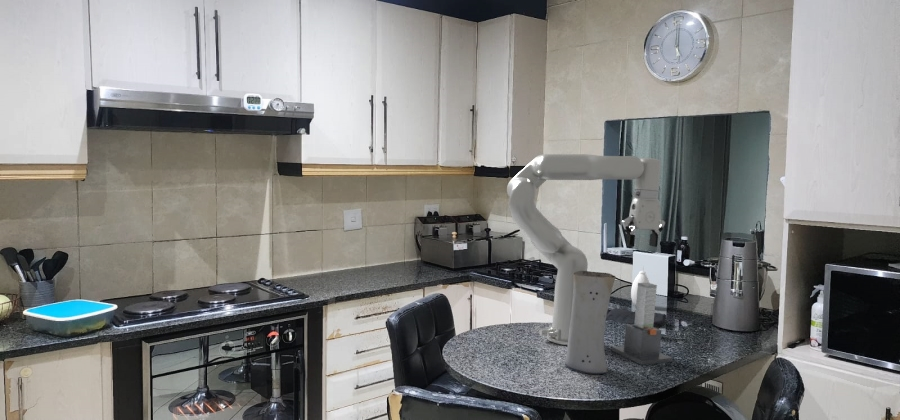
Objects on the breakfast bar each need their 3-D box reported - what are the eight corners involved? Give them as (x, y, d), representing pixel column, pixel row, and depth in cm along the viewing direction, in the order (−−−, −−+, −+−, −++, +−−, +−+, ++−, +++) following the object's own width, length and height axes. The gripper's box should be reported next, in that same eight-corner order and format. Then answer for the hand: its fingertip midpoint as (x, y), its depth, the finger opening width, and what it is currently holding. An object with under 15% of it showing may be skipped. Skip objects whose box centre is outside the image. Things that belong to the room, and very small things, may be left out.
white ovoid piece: (650, 306, 263) (654, 265, 262) (646, 310, 257) (649, 268, 255) (632, 303, 267) (636, 263, 266) (627, 306, 261) (631, 265, 259)
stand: (641, 364, 183) (643, 333, 183) (611, 350, 196) (614, 320, 195) (671, 361, 188) (674, 330, 187) (641, 347, 201) (643, 318, 200)
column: (643, 335, 188) (647, 285, 187) (633, 331, 193) (637, 282, 191) (653, 335, 190) (657, 285, 189) (643, 331, 194) (647, 282, 193)
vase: (618, 372, 176) (628, 277, 174) (585, 378, 168) (594, 278, 167) (586, 359, 187) (594, 269, 185) (552, 364, 179) (561, 270, 178)
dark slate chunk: (615, 313, 250) (616, 302, 249) (670, 324, 237) (671, 312, 237) (601, 319, 237) (602, 308, 237) (658, 331, 225) (659, 319, 224)
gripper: (632, 195, 195) (628, 248, 196) (674, 197, 202) (669, 247, 203) (617, 193, 202) (613, 244, 203) (658, 195, 209) (654, 244, 210)
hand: (641, 246), depth 203 cm, fingers open, 9 cm apart
